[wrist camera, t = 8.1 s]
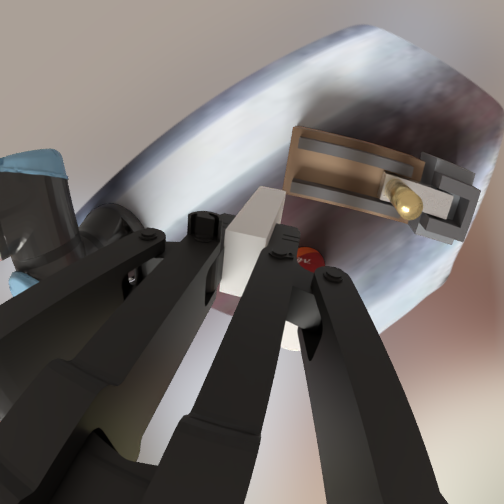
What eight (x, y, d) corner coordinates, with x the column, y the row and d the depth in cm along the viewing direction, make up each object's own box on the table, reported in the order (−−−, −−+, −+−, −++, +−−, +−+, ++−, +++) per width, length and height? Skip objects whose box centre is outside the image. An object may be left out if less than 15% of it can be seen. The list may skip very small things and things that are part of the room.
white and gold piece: (377, 195, 31) (391, 217, 24) (383, 170, 29) (400, 187, 23) (441, 214, 30) (466, 240, 23) (448, 192, 28) (476, 213, 21)
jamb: (403, 217, 37) (420, 242, 30) (421, 151, 32) (446, 161, 25) (437, 227, 36) (458, 253, 29) (456, 164, 32) (484, 178, 24)
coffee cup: (296, 229, 42) (283, 286, 29) (342, 257, 42) (348, 322, 29) (268, 271, 46) (246, 334, 33) (312, 295, 46) (305, 364, 33)
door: (287, 182, 39) (279, 197, 32) (297, 125, 35) (291, 127, 28) (396, 208, 37) (411, 230, 30) (410, 155, 33) (431, 165, 26)
